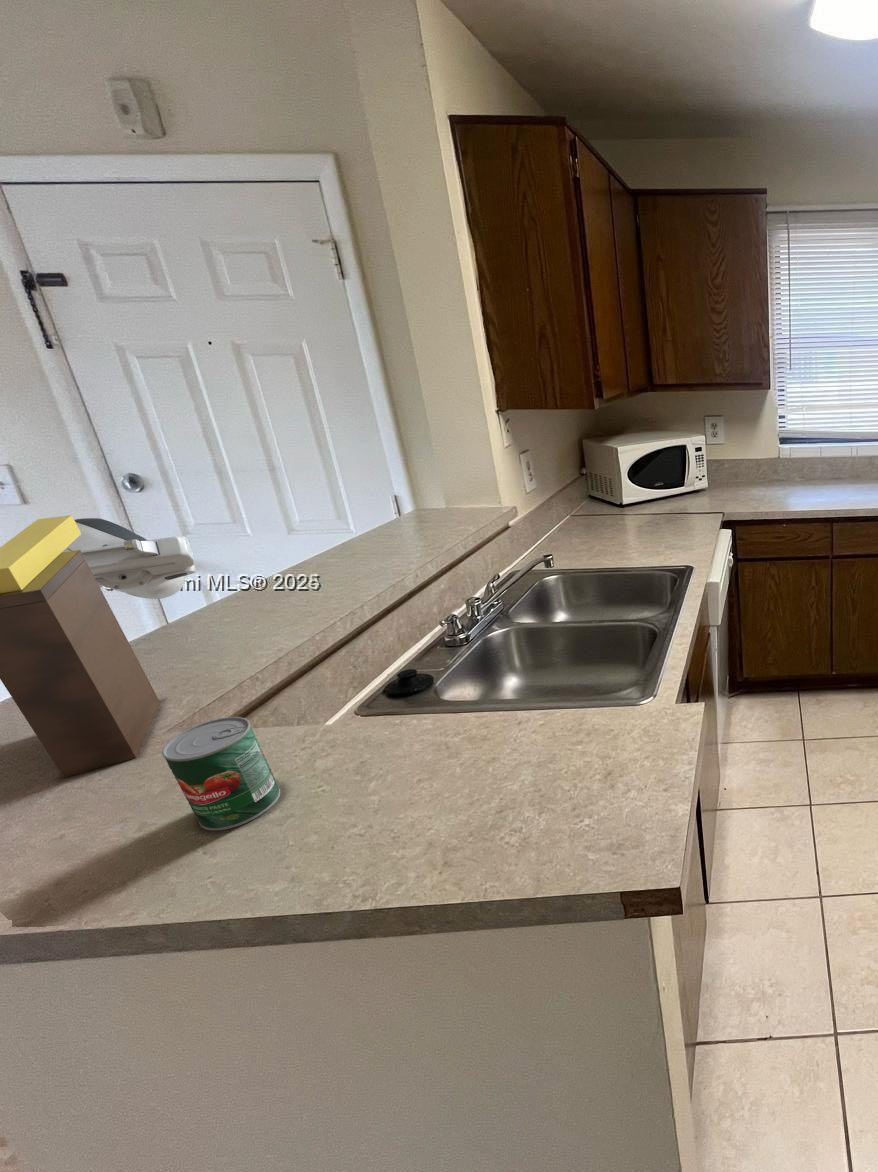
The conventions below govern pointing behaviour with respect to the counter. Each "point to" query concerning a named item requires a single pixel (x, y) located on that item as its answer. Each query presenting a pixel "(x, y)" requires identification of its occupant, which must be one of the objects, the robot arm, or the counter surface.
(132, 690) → the walnut stand
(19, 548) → the yellow bar
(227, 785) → the canned tomato
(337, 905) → the counter surface
